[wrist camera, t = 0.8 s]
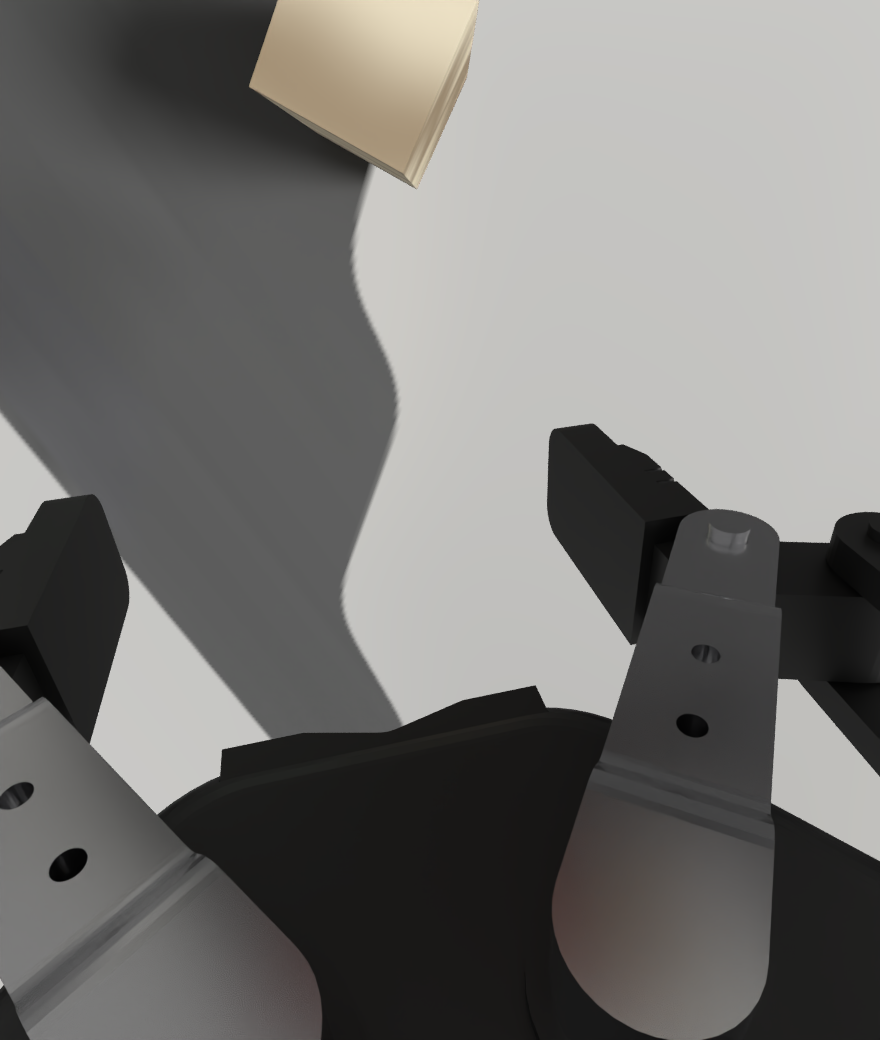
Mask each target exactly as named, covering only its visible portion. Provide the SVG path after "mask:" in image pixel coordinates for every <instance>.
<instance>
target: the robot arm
mask: <svg viewBox="0 0 880 1040" xmlns="http://www.w3.org/2000/svg"><path fill="white" fill-rule="evenodd" d="M548 460H549V461H548V493H547V510H548V517H549V521H550V525H551V528H552V531H553V533H554V535H555V536H556V538H557V539H558V541H559V542H560V544H561V545H562V546H563V548H564V549H565V551H566V552H567V553H568V555H569V557H570V558H571V559H572V561H573V562H574V564H575V565H576V567H577V568H578V570H579V571H580V572H581V574H582V575H583V577H584V578H585V580H586V581H587V583H588V584H589V585H590V587H591V588H592V590H593V591H594V593H595V594H596V595H597V597H598V598H599V600H600V601H601V603H602V604H603V606H604V607H605V609H606V610H607V611H608V613H609V614H610V616H611V617H612V619H613V620H614V622H615V623H616V624H617V626H618V627H619V629H620V630H621V632H622V633H623V635H624V636H625V637H626V639H627V640H628V642H629V643H630V645H632V644H636V647H635V650H634V654H633V657H632V660H631V663H630V666H629V669H628V672H627V676H626V679H625V682H624V685H623V689H622V691H621V695H620V698H619V701H618V704H617V708H616V710H615V714H614V717H613V720H611V719H609V718H606V717H603V716H599V715H596V714H592V713H588V712H583V711H578V710H572V709H563V708H546V707H545V704H544V702H543V701H542V698H541V696H540V694H539V692H538V690H537V688H536V686H530V687H525V688H520V689H516V690H510V691H506V692H501V693H496V694H491V695H486V696H482V697H477V698H472V699H467V700H462V701H460V702H458V703H455V704H453V705H451V706H448V707H446V708H444V709H441V710H439V711H437V712H434V713H432V714H430V715H428V716H425V717H423V718H421V719H418V720H416V721H414V722H411V723H409V724H407V725H404V726H402V727H400V728H397V729H395V730H392V731H389V732H382V733H301V734H296V735H291V736H286V737H281V738H276V739H271V740H266V741H262V742H257V743H252V744H247V745H242V746H237V747H232V748H228V749H223V750H222V758H221V772H220V776H219V777H217V778H215V779H213V780H210V781H208V782H206V783H204V784H203V785H201V786H199V787H197V788H196V789H193V790H192V791H190V792H188V793H187V794H185V795H184V796H182V797H181V798H179V799H177V800H176V801H174V802H173V803H172V804H170V805H169V806H168V807H166V808H165V809H164V810H163V811H161V812H160V813H159V814H158V815H156V813H155V812H154V811H153V810H152V809H151V808H150V807H149V806H148V805H147V804H146V803H145V802H144V801H143V800H142V799H141V798H140V797H139V795H138V794H137V793H136V792H135V791H134V790H133V789H132V788H131V787H130V786H129V785H128V784H127V783H126V782H125V781H124V780H123V779H122V778H121V777H120V776H119V774H118V773H117V772H116V771H114V769H113V768H112V767H111V766H110V765H109V764H108V763H107V762H106V761H105V760H104V759H103V758H102V757H101V755H99V753H97V751H96V750H95V749H94V748H93V747H92V746H91V745H90V741H91V737H92V734H93V730H94V726H95V723H96V719H97V716H98V712H99V709H100V705H101V702H102V698H103V694H104V691H105V687H106V684H107V680H108V677H109V673H110V670H111V666H112V662H113V659H114V656H115V652H116V648H117V645H118V641H119V638H120V634H121V631H122V627H123V623H124V620H125V617H126V613H127V609H128V605H129V586H128V579H127V575H126V571H125V568H124V566H123V563H122V560H121V557H120V554H119V552H118V549H117V546H116V543H115V541H114V538H113V535H112V532H111V529H110V527H109V524H108V521H107V518H106V516H105V513H104V510H103V508H102V505H101V503H100V501H99V500H98V498H97V497H96V496H95V495H93V494H91V495H84V496H77V497H70V498H63V499H56V500H49V501H44V502H43V503H42V504H41V506H40V508H39V509H38V511H37V513H36V514H35V516H34V518H33V520H32V522H31V523H30V525H29V527H28V528H27V530H26V532H25V533H22V534H16V535H13V536H12V537H11V538H10V539H8V540H7V541H6V542H5V543H3V544H2V545H1V546H0V979H1V981H2V982H3V984H4V985H3V987H2V988H1V989H0V1040H880V861H878V860H876V859H874V858H873V857H871V856H869V855H867V854H865V853H863V852H862V851H860V850H858V849H856V848H854V847H852V846H850V845H848V844H847V843H844V842H843V841H841V840H839V839H837V838H835V837H833V836H832V835H830V834H828V833H826V832H824V831H822V830H821V829H819V828H817V827H815V826H813V825H811V824H809V823H807V822H806V821H804V820H802V819H800V818H798V817H796V816H794V815H793V814H791V813H789V812H787V811H785V810H783V809H781V808H779V807H778V806H776V805H774V804H772V803H771V791H772V774H773V757H774V740H775V723H776V722H775V721H776V705H777V688H778V679H795V680H798V681H799V682H800V683H801V685H802V686H803V687H804V688H805V689H806V691H807V692H808V693H809V694H810V695H811V697H812V698H813V699H814V700H815V701H816V702H817V703H818V705H819V706H820V707H821V708H822V709H823V710H824V711H825V713H826V714H827V715H828V716H829V718H830V719H831V720H832V721H833V722H834V723H835V725H836V726H837V727H838V728H839V729H840V730H841V732H842V733H843V734H844V735H845V736H846V737H847V739H848V740H849V741H850V742H851V743H852V745H853V746H854V747H855V748H856V749H857V750H858V752H859V753H860V754H861V755H862V756H863V757H864V759H865V760H866V761H867V762H868V763H869V764H870V765H871V767H872V768H873V769H874V770H875V772H876V773H877V774H878V775H879V776H880V513H876V512H860V513H854V514H849V515H846V516H843V517H842V518H840V519H839V520H838V521H837V522H836V524H835V527H834V531H833V534H832V537H831V541H830V543H807V542H780V541H779V536H778V534H777V532H776V531H775V530H774V529H773V528H772V527H771V526H770V525H769V524H767V523H766V522H764V521H763V520H761V519H759V518H757V517H754V516H752V515H749V514H745V513H742V512H737V511H733V510H723V509H712V510H711V509H710V510H709V509H708V508H706V507H705V506H704V505H703V504H702V503H701V502H700V501H698V500H697V499H696V498H695V497H694V496H693V495H692V494H691V493H690V492H688V491H687V490H686V489H685V488H684V487H683V486H681V485H680V484H679V483H678V482H677V481H676V482H674V478H673V477H671V476H670V475H669V474H668V473H667V472H666V471H664V470H663V471H662V469H661V467H660V466H659V465H658V464H657V463H655V462H654V461H653V460H652V459H651V458H650V457H649V456H648V455H646V454H644V453H642V452H639V451H637V450H635V449H633V448H630V447H628V446H625V445H617V444H615V443H614V442H613V441H612V440H611V439H610V438H609V437H608V436H607V435H606V434H604V433H603V431H601V430H600V429H599V428H598V427H597V426H596V425H595V424H585V425H578V426H571V427H564V428H557V429H554V430H553V431H552V432H551V435H550V439H549V459H548Z"/></svg>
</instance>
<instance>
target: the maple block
mask: <svg viewBox="0 0 880 1040" xmlns="http://www.w3.org/2000/svg"><path fill="white" fill-rule="evenodd" d="M478 4H479V0H278V2H277V5H276V8H275V10H274V13H273V16H272V19H271V22H270V25H269V28H268V31H267V34H266V37H265V40H264V43H263V46H262V49H261V52H260V55H259V58H258V61H257V64H256V67H255V70H254V73H253V76H252V79H251V82H250V85H249V87H250V88H252V89H253V90H255V91H256V92H258V93H259V94H261V95H262V96H264V97H265V98H267V99H268V100H269V101H271V102H272V103H274V104H275V105H277V106H278V107H280V108H281V109H283V110H284V111H286V112H287V113H289V114H290V115H291V116H293V117H294V118H296V119H297V120H299V121H300V122H302V123H303V124H305V125H306V126H308V127H309V128H310V129H312V130H313V131H315V132H316V133H318V134H319V135H321V136H323V137H325V138H326V139H328V140H330V141H332V142H334V143H335V144H337V145H339V146H341V147H342V148H344V149H346V150H348V151H350V152H351V153H353V154H355V155H357V156H358V157H360V158H362V159H364V160H366V161H367V162H369V163H371V164H373V165H374V166H376V167H378V168H380V169H382V170H383V171H385V172H387V173H389V174H391V175H392V176H394V177H396V178H398V179H400V180H401V181H403V182H405V183H407V184H408V185H410V186H412V187H414V188H415V189H417V188H418V186H419V184H420V181H421V179H422V177H423V174H424V172H425V170H426V168H427V166H428V163H429V161H430V159H431V157H432V154H433V152H434V150H435V148H436V145H437V143H438V141H439V138H440V137H441V134H442V132H443V130H444V128H445V125H446V123H447V121H448V119H449V116H450V114H451V112H452V110H453V107H454V105H455V103H456V101H457V98H458V96H459V94H460V92H461V89H462V87H463V85H464V83H465V80H466V78H467V73H468V67H469V60H470V54H471V48H472V42H473V36H474V30H475V23H476V17H477V11H478Z"/></svg>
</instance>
